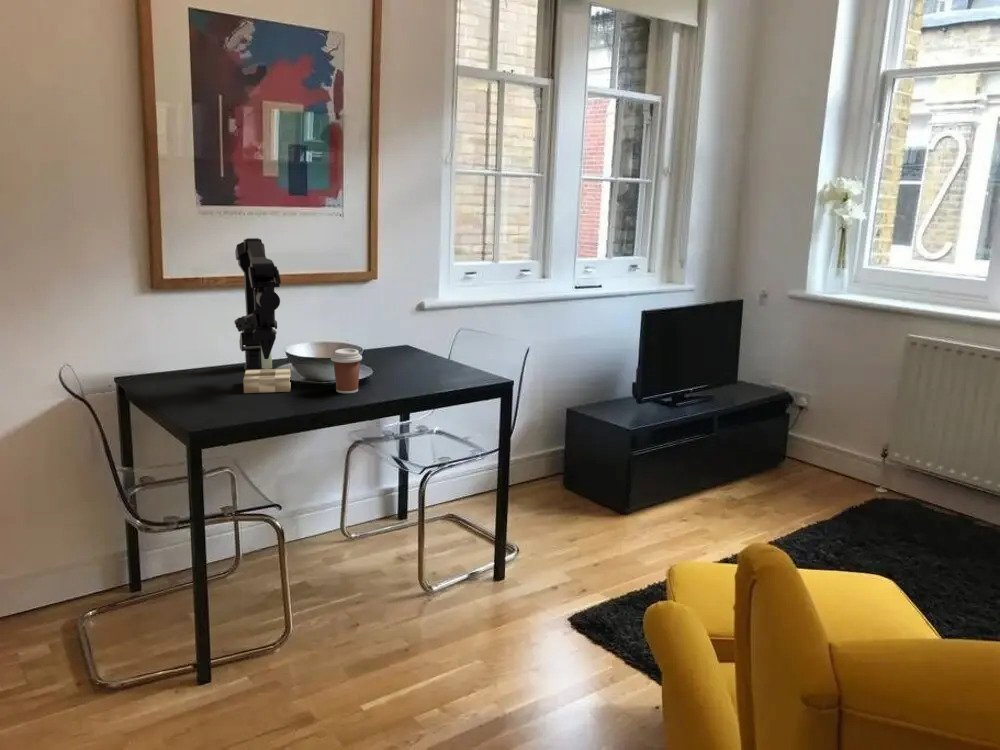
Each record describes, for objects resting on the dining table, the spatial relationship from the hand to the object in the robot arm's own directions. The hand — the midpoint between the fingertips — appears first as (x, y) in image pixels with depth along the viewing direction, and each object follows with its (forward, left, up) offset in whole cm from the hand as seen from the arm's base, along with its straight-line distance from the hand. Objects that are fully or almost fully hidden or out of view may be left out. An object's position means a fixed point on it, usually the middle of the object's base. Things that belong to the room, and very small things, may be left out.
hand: (266, 357), depth 248 cm
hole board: (0, 0, -9) cm, 9 cm away
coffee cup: (+7, +23, -9) cm, 26 cm away
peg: (0, 0, -3) cm, 3 cm away
